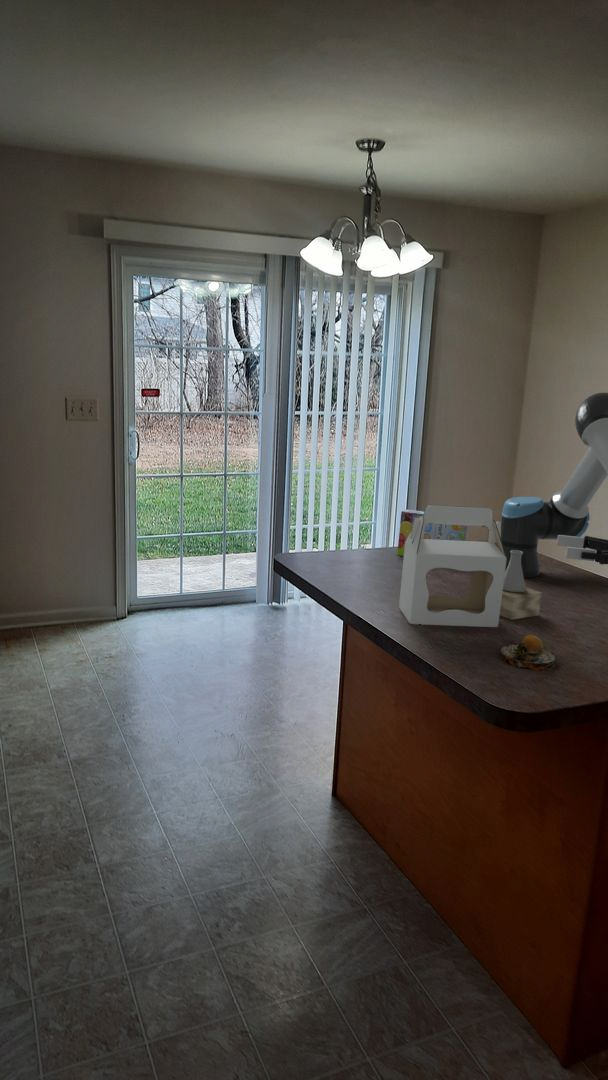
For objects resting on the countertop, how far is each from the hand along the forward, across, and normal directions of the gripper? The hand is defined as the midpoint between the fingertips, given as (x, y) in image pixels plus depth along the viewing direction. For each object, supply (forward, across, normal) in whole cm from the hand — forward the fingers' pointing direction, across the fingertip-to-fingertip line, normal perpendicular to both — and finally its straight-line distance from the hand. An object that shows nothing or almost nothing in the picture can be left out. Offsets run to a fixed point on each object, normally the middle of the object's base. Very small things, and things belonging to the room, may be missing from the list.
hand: (561, 546), depth 195 cm
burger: (+10, -35, -18) cm, 41 cm away
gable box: (+27, -11, -19) cm, 34 cm away
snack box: (+30, +52, -20) cm, 64 cm away
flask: (+11, 0, -13) cm, 17 cm away
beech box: (+10, 0, -19) cm, 21 cm away
